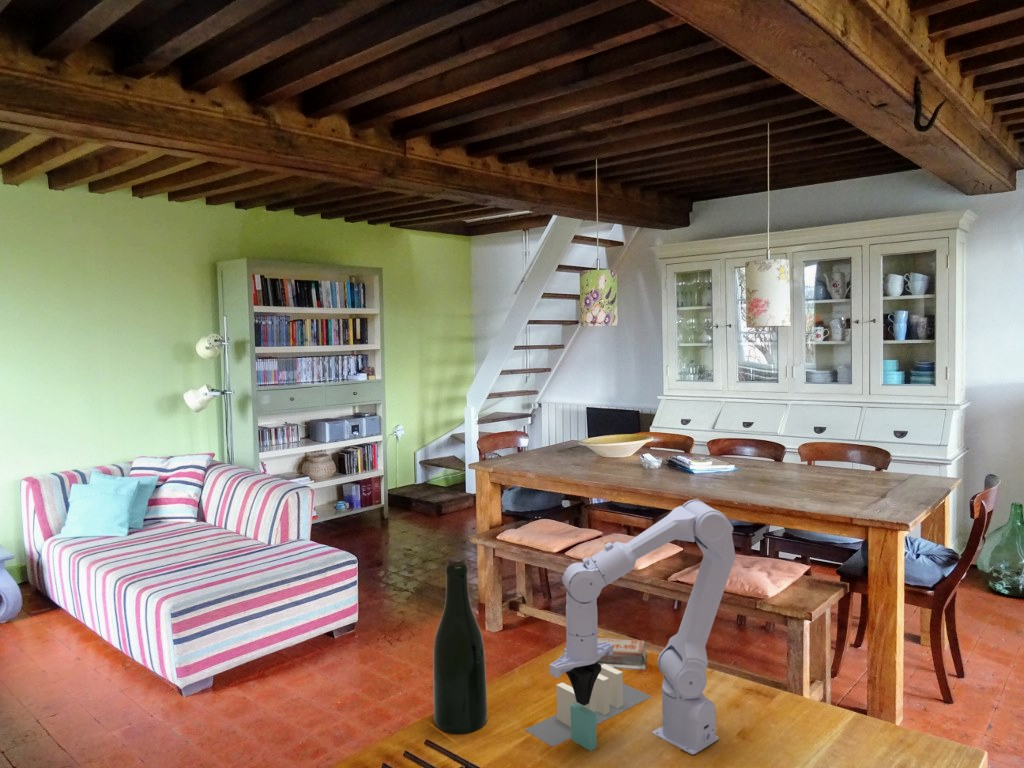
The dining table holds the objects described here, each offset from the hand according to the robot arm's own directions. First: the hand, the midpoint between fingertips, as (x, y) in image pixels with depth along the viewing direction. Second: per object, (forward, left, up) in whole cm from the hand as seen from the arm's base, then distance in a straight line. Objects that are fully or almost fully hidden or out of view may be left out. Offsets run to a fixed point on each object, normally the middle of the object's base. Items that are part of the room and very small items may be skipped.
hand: (582, 702), depth 136 cm
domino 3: (0, 0, -8) cm, 8 cm away
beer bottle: (+22, +12, -8) cm, 26 cm away
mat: (+7, -9, -8) cm, 14 cm away
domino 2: (+7, -7, -8) cm, 13 cm away
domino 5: (+7, -15, -8) cm, 18 cm away
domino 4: (+7, -11, -8) cm, 15 cm away
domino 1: (+7, -3, -8) cm, 11 cm away
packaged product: (+22, -30, -9) cm, 38 cm away
